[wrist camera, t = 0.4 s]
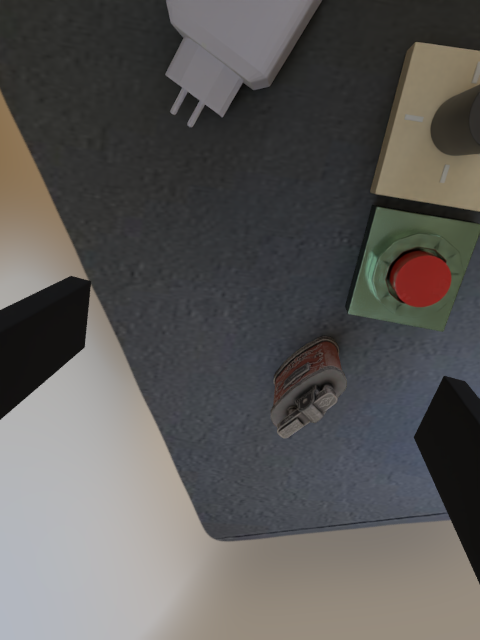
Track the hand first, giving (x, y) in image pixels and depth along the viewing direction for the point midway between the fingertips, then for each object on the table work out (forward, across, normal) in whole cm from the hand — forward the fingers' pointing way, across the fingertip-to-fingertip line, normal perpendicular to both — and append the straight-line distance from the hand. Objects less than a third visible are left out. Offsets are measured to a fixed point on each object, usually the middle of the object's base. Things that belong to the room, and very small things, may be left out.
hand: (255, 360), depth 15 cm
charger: (+26, -8, +15) cm, 31 cm away
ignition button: (+22, +12, +1) cm, 25 cm away
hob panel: (+26, +11, +12) cm, 31 cm away
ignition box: (+26, +12, +1) cm, 29 cm away
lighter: (+26, +6, -12) cm, 29 cm away
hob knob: (+23, +11, +13) cm, 29 cm away
